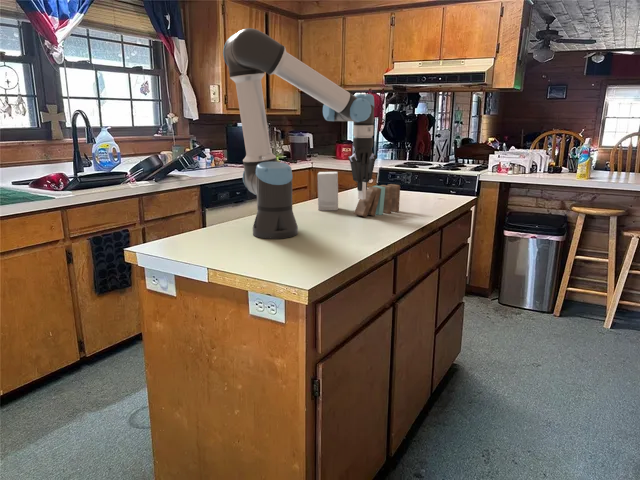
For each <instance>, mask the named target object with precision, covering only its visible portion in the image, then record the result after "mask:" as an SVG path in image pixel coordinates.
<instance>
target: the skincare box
mask: <svg viewBox="0 0 640 480" xmlns="http://www.w3.org/2000/svg"><path fill="white" fill-rule="evenodd" d="M338 173H339V172H338V171H318V173H317V174H316V175H317V205H318V210H317V211H338V209H339V177H338Z"/></svg>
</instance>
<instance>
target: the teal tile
mask: <svg viewBox="0 0 640 480" xmlns="http://www.w3.org/2000/svg"><path fill="white" fill-rule="evenodd" d="M372 187H376V188H380V189H381V192H380V196H379V201H378V205H377V209H376V213H375V215H379V216H383V214H384V213H383V208H384V197H385V187H381V186H380V185H372Z"/></svg>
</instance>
